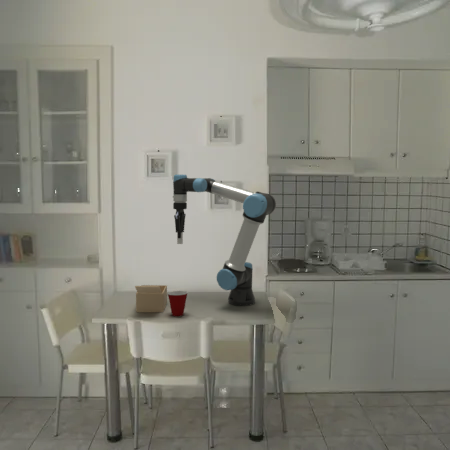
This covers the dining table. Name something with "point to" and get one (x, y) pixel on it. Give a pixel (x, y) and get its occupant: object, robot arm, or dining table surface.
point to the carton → (152, 300)
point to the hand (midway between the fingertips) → (179, 243)
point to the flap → (148, 289)
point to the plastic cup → (177, 302)
